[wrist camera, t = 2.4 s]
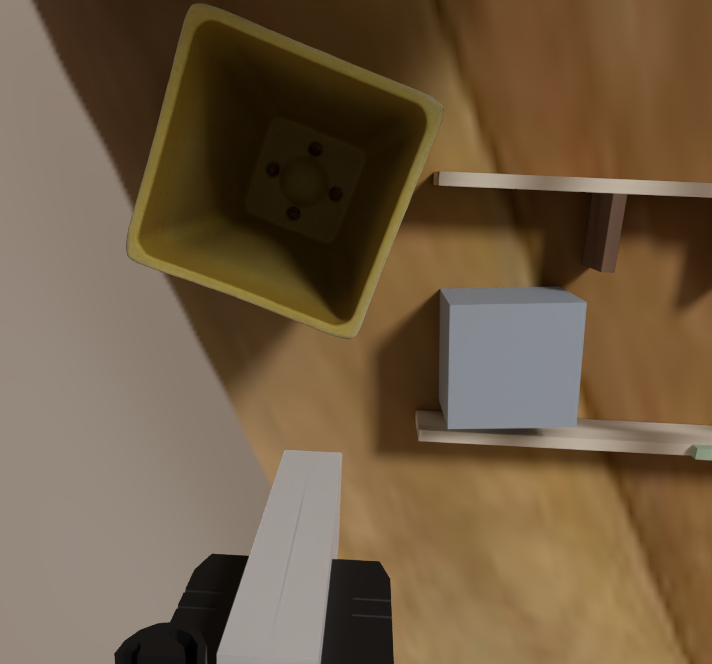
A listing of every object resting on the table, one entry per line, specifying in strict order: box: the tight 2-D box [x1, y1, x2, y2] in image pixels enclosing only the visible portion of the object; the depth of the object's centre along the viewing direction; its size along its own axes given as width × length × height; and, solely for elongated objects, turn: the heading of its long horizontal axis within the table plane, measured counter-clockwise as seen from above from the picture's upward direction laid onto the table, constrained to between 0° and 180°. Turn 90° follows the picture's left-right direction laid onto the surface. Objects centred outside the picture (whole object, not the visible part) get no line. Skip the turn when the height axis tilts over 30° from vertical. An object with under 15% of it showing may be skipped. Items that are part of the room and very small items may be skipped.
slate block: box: [439, 286, 587, 429], centre depth 28 cm, size 6×6×4 cm
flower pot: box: [126, 3, 444, 339], centre depth 23 cm, size 9×9×9 cm
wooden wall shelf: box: [415, 171, 712, 460], centre depth 27 cm, size 22×13×3 cm, turn 87°
